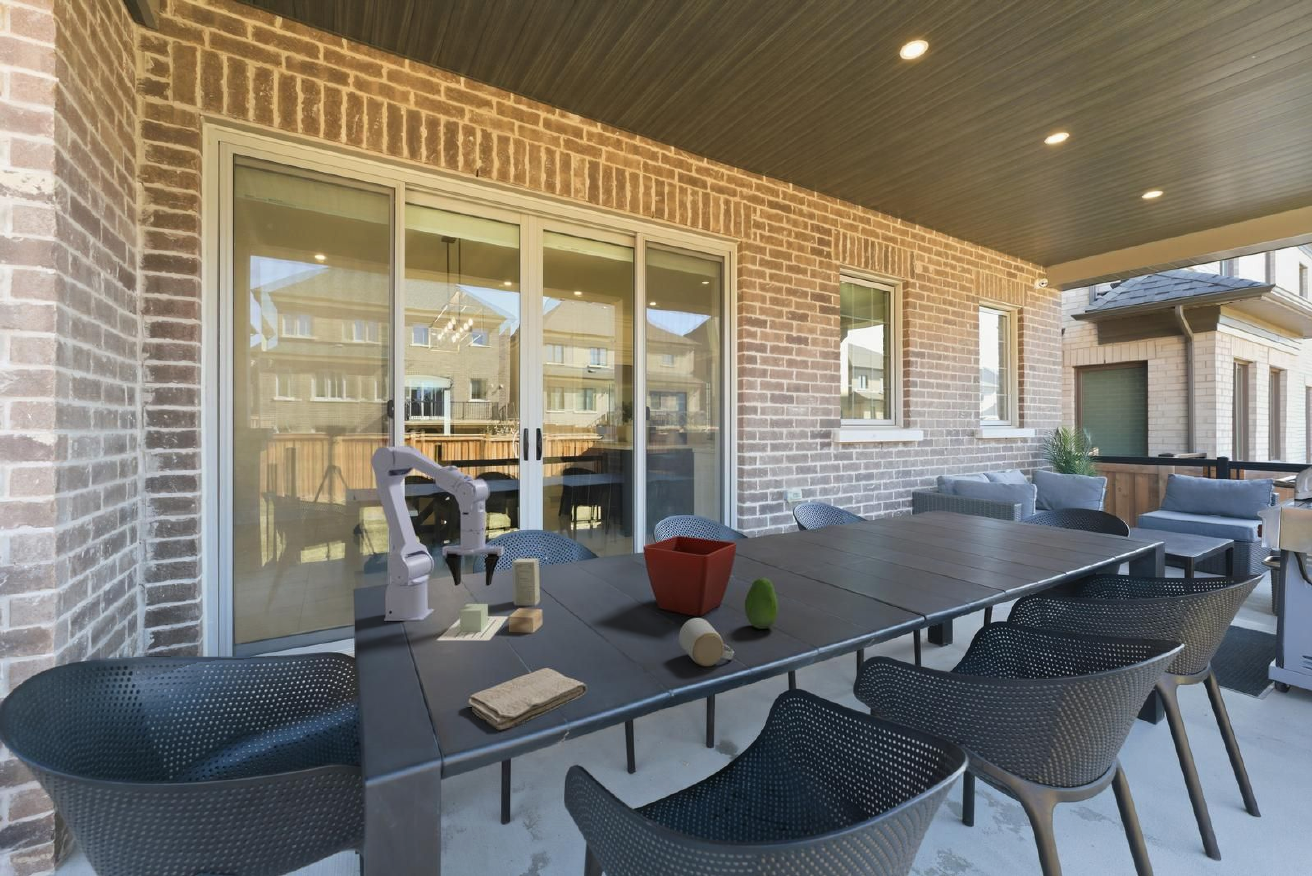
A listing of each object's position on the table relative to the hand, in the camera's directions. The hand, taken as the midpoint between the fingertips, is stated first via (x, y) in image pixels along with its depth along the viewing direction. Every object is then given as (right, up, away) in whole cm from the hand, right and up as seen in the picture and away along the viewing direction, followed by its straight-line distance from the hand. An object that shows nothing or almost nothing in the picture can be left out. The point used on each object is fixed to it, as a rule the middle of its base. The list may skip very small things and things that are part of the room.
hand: (473, 584), depth 136 cm
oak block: (+14, -10, -3) cm, 17 cm away
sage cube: (+1, -10, -3) cm, 10 cm away
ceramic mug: (+56, -10, -21) cm, 60 cm away
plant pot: (+54, -10, +13) cm, 57 cm away
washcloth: (+22, -11, -38) cm, 46 cm away
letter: (+1, -10, -3) cm, 10 cm away
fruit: (+70, -10, -3) cm, 71 cm away
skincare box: (+9, -10, +16) cm, 21 cm away
